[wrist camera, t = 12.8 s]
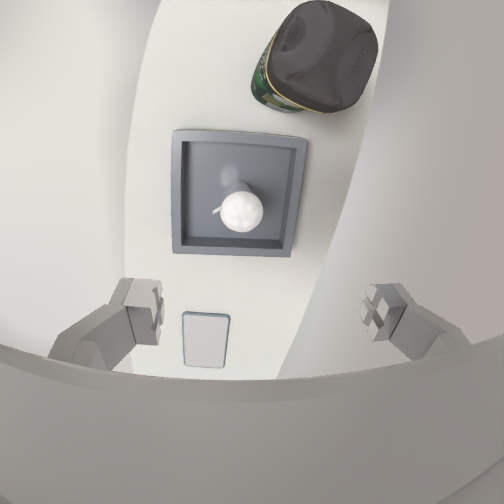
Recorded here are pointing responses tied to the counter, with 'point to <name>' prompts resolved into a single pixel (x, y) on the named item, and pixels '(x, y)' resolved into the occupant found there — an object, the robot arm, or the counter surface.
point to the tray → (218, 179)
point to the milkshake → (240, 207)
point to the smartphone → (205, 339)
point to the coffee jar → (316, 60)
